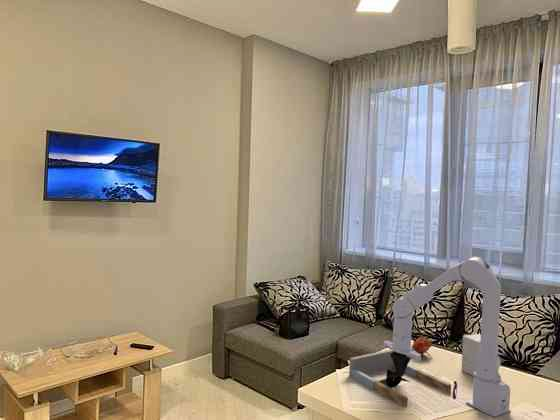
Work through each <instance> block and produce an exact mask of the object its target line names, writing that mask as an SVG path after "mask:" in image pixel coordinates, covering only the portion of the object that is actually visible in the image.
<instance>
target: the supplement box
mask: <svg viewBox="0 0 560 420" xmlns="http://www.w3.org/2000/svg"><path fill="white" fill-rule="evenodd" d="M480 341H481V334H479V333H477V334H476V333H475V334H467V335H462V349H461V353H462V354H461V370H460V371H462V372H464V373H466V374H469V375H470V376H473V377H474V372H475V369H474V366H475V363H476V362H477V360H478V356H479V350H480Z"/></svg>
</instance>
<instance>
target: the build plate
mask: <svg viewBox="0 0 560 420" xmlns="http://www.w3.org/2000/svg"><path fill="white" fill-rule="evenodd" d="M386 370H387V371H386V375H385V376H386V377H385V378H384V379H380V380H378V381H379V382H380V383H382V384H384V385H386V386H388V387H390V388H391V389H394V388H396V387H400V386H402V385H405V384H409V383H411V381H410V380H408V379H406V378H404V377H403V376H401V377H399V376H397V375H396V370H395V367H392V368H388V369H386Z"/></svg>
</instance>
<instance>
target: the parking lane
mask: <svg viewBox="0 0 560 420" xmlns="http://www.w3.org/2000/svg"><path fill="white" fill-rule="evenodd" d="M391 353H393V350H391V349H387V350H386V349H385V350H382V351H377V352H372V353H367V354H362V355H358V356H353V357H350V358H349V367H348V369H349V373H348V375H349V377H350V378H353V379H355V380H356V381H358V382H359V383H361V384H363V385H365V386H367V387H368V388H370V389H372V390H374V391H375V392H377V393H378V394H381V395H382V396H384V397H386V398H388V399H389V400H391V401H392V402H394V403H396V404H398V405H400V406H401V407H403V408H406V407H408V399H409V398H408V396H406V395H404V394H402V393H400V392H399V391H397V390H395V389H394V388H390V387H388V386H386V385H384V384H382V383H380V382H379V381H380V380H378V379H374V378H373V377H371V376H369V375H368V374H370V373H371V374H372V373H374V372H380V371H383V370H387V369H390V368H391V369H392V368H394V367H395V366H394V362H393V360H392V358H391V356H390V354H391ZM405 373H406V374H408V375H410V376H412V377H414V378H416V379H417V380H420V381H422V382H424V383H426V384H428V385H430V386H433V387H435V388H436V389H438V390H440V391H443V392H444V393H446V394H450V393H452V384H451V383H449V382H447V381H444V380H443V379H440V378H439V377H436V376H434V375H433V374H432V375H431V374H429V373H428V372H426V371H423V370H421V369H419V368H416V367H414V366H413V365H410V364H408V365H407V367H406V370H405ZM405 373H404V374H405Z"/></svg>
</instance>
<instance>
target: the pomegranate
mask: <svg viewBox="0 0 560 420" xmlns="http://www.w3.org/2000/svg"><path fill="white" fill-rule="evenodd" d="M411 340H413V342H412V344H411V347H412V349H413V350H414V351H416V352H417V353H418V354H421V358H422V356H424V354H425V353H426V354H427V356H429V358H431V359H433V357H432V356H431V354H429V353H428V351H429V349H430V348H431V347H433V346H432V345H433V344H432V343H431V341H430V340H429V339H428V338H425V337H418V338H417V339H416V338H414V337H411Z"/></svg>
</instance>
